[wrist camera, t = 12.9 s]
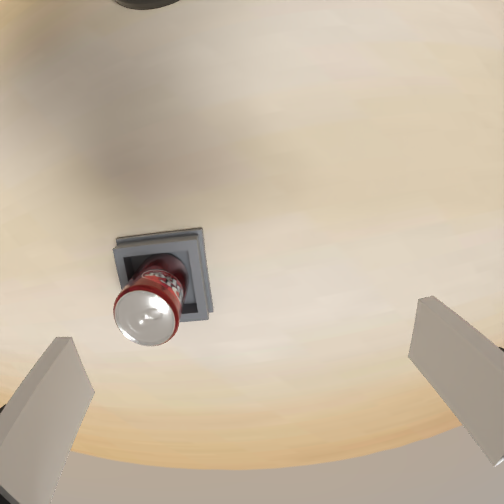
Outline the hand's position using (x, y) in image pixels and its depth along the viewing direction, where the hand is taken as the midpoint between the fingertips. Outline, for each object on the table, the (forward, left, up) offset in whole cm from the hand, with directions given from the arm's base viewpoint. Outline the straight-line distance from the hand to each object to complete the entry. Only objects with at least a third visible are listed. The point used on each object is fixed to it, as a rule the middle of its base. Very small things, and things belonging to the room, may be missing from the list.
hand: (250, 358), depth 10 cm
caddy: (+8, -10, -32) cm, 34 cm away
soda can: (+8, -10, -31) cm, 33 cm away
